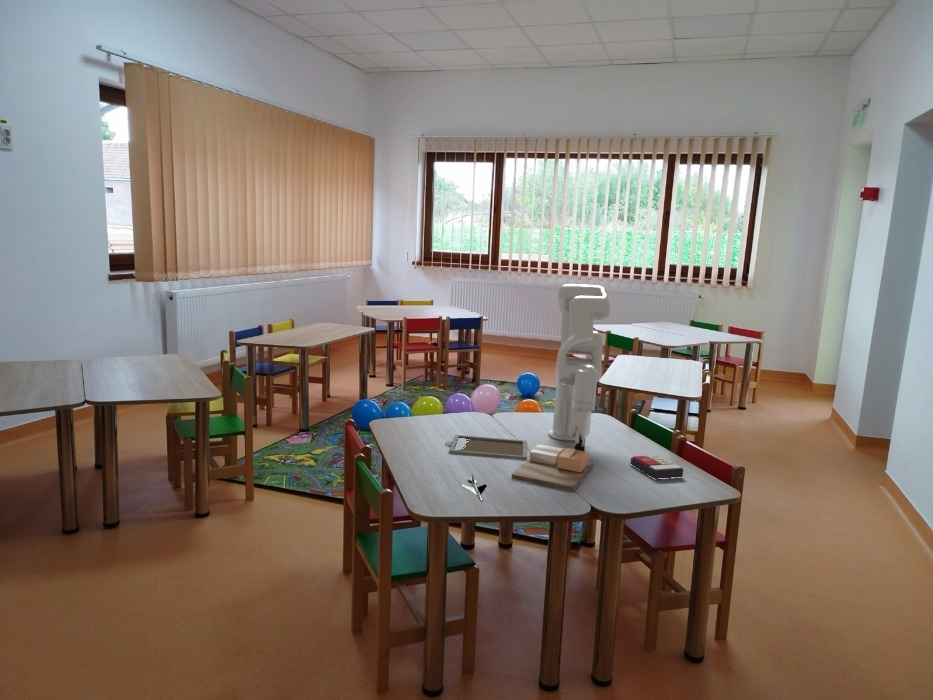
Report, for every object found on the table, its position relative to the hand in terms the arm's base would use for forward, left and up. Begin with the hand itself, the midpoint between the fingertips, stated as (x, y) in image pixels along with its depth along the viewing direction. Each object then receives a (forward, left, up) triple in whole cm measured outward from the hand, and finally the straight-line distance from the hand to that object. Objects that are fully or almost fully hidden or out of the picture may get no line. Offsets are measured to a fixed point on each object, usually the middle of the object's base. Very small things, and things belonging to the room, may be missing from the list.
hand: (578, 456), depth 216 cm
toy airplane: (+38, -22, -3) cm, 44 cm away
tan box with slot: (+7, 0, -1) cm, 7 cm away
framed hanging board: (+1, -34, -4) cm, 34 cm away
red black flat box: (-8, +25, -3) cm, 26 cm away
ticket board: (+10, -5, -3) cm, 12 cm away
